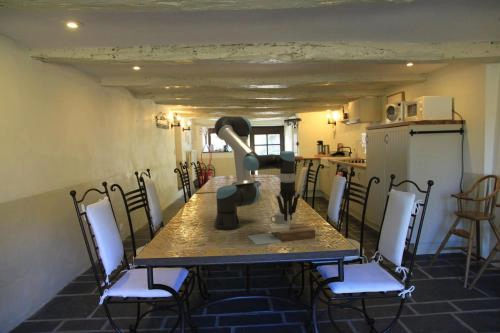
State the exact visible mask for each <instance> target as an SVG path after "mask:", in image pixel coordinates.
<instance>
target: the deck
mask: <svg viewBox="0 0 500 333" xmlns="http://www.w3.org/2000/svg"><path fill="white" fill-rule="evenodd" d="M271 234H272V235H274V236H275V237H276V238H278V239H279V240H280V241H281V243H284V242H291V241H292V242H293V241H300V240H307V239H315V238H316V230H315V229H314V228H312V227H310V226H309V225H307V224H305V223H294V224H291V223H290V227H289V231H281V232H272V231H271Z"/></svg>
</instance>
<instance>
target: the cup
mask: <svg viewBox="0 0 500 333" xmlns="http://www.w3.org/2000/svg"><path fill="white" fill-rule="evenodd" d="M288 214H289V213H288ZM273 217H274V220H273ZM269 220H270V222H271V223H272V224H275V225H278V224H286V221H285V220H284V214H282V213H281V212H280V211H277V212H275V213H274V214H272V215H271V216H270V218H269Z"/></svg>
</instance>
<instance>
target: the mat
mask: <svg viewBox="0 0 500 333" xmlns="http://www.w3.org/2000/svg"><path fill="white" fill-rule="evenodd" d="M247 237H248V239H250V241H252V243H253V244H254V245H256V246H262V245H263V246H264V245H270V244H277V243H278V244H280V243H282V241H281V240H279V239H278V238H277V237H275V236H274V235H273V234H272V232H271V233H270V232H269V233H268V232H267V233H261V234H260V233H259V234H253V235H251V234H250V235H247Z"/></svg>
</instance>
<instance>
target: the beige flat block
mask: <svg viewBox="0 0 500 333" xmlns="http://www.w3.org/2000/svg"><path fill="white" fill-rule="evenodd" d="M268 230H269V232H271V233H272V232H281V231H289V226H287V225H286V224H278V225H276V224H270V225H268Z"/></svg>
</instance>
